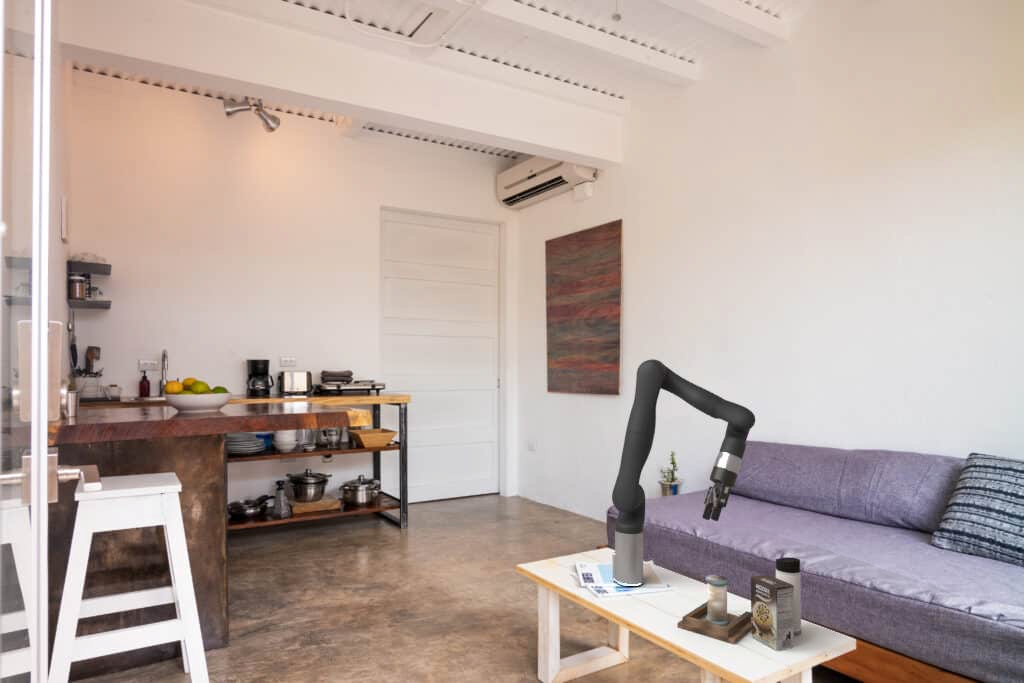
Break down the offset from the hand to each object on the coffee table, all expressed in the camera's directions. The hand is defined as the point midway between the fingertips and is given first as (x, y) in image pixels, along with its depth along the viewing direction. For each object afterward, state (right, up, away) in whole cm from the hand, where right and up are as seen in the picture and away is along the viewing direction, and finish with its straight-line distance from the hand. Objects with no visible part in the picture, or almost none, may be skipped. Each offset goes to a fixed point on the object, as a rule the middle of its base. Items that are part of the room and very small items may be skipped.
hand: (709, 519), depth 194 cm
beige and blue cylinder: (-3, -24, -17) cm, 29 cm away
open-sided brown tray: (-3, -25, -17) cm, 30 cm away
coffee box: (+8, -25, -27) cm, 38 cm away
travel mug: (+16, -25, -20) cm, 36 cm away
